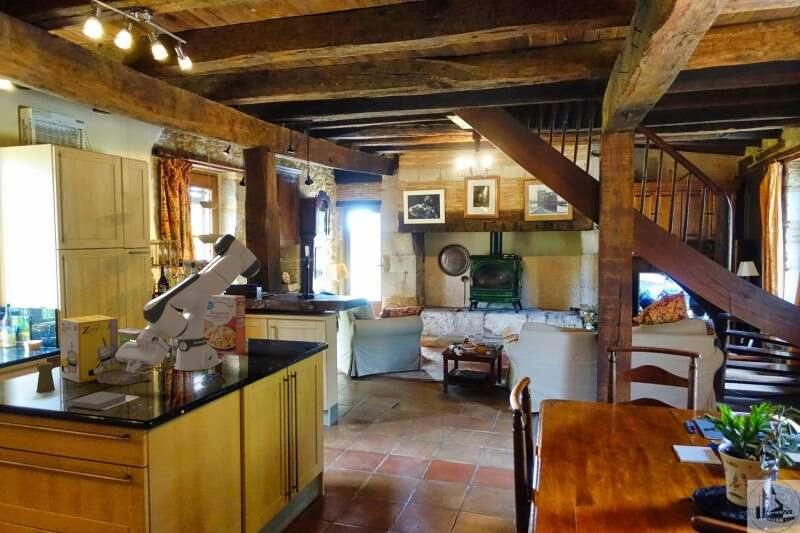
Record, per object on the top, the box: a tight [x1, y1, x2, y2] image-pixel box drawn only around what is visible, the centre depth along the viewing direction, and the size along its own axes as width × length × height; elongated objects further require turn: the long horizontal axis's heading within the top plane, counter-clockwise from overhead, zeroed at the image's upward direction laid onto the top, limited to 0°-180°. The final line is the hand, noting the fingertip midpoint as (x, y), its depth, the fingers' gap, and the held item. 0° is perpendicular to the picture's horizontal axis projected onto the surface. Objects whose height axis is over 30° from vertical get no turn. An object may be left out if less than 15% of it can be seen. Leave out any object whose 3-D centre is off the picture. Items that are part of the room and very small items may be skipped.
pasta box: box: [204, 294, 246, 356], centre depth 279 cm, size 23×8×30 cm, turn 71°
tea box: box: [118, 327, 143, 350], centre depth 258 cm, size 15×10×15 cm
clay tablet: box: [96, 368, 150, 386], centre depth 220 cm, size 14×5×20 cm
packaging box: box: [59, 314, 120, 384], centre depth 227 cm, size 16×16×25 cm
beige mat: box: [100, 394, 140, 411], centre depth 191 cm, size 16×16×1 cm
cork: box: [36, 361, 56, 394], centre depth 205 cm, size 6×6×11 cm
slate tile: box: [70, 391, 127, 410], centre depth 188 cm, size 2×12×12 cm
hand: (129, 371), depth 202 cm, fingers closed
